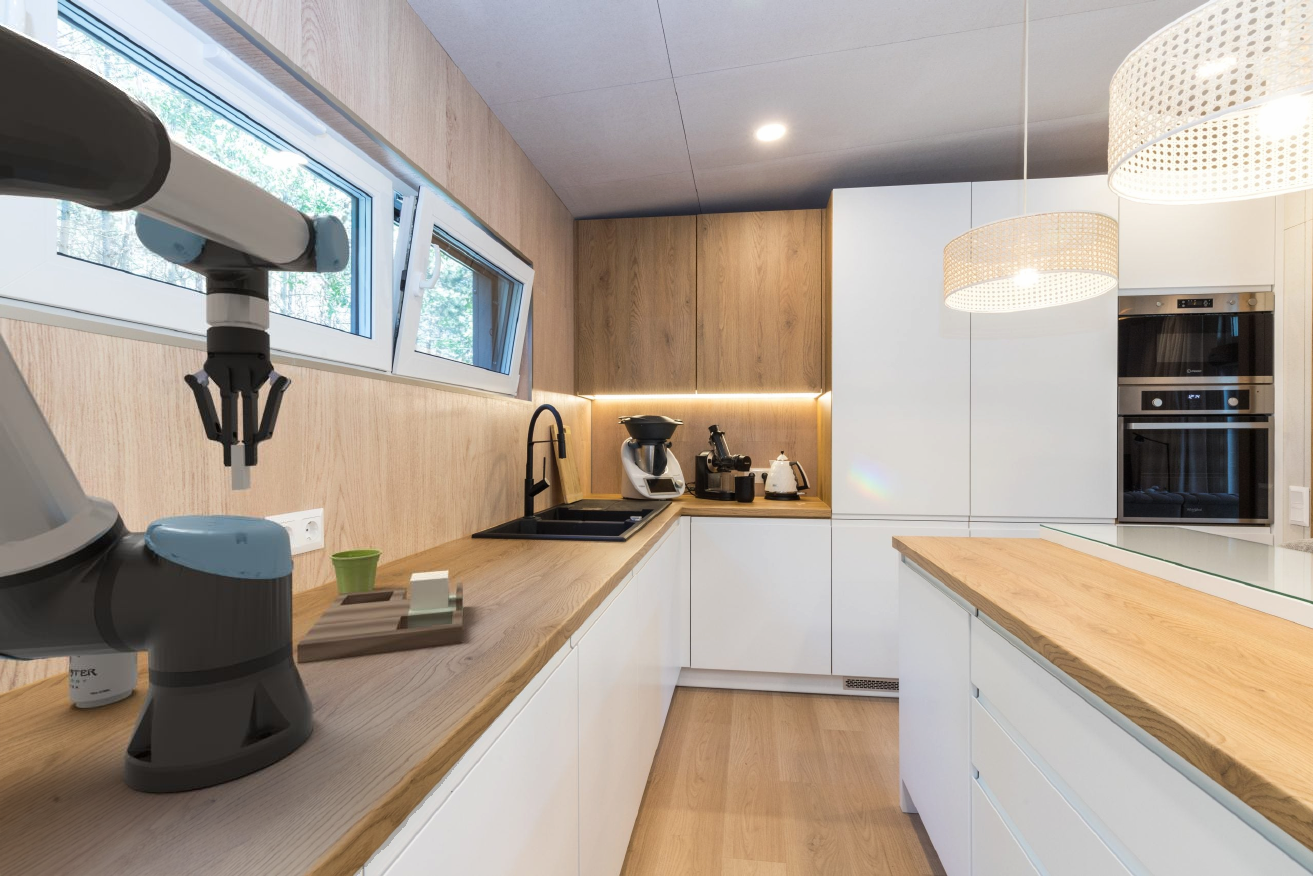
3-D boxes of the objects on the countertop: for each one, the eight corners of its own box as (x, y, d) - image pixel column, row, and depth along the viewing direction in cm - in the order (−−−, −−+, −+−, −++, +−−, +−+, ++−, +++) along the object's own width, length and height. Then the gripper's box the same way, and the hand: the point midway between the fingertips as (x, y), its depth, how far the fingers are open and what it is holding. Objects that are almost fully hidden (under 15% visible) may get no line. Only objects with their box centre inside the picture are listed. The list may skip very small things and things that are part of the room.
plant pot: (374, 587, 122) (373, 547, 122) (388, 595, 115) (388, 552, 115) (325, 596, 116) (324, 553, 116) (337, 605, 109) (336, 560, 109)
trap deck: (462, 642, 87) (461, 613, 87) (297, 662, 80) (297, 630, 80) (463, 594, 115) (463, 572, 115) (340, 606, 108) (340, 582, 108)
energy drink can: (59, 705, 68) (57, 580, 68) (122, 684, 74) (121, 569, 74) (84, 714, 66) (82, 584, 66) (148, 692, 71) (146, 572, 71)
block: (448, 606, 98) (447, 577, 98) (410, 610, 96) (409, 581, 96) (449, 597, 103) (448, 570, 103) (413, 601, 101) (412, 573, 101)
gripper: (296, 335, 90) (299, 485, 89) (197, 331, 85) (199, 489, 85) (282, 326, 82) (284, 489, 82) (172, 321, 78) (175, 493, 78)
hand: (241, 488), depth 84 cm, fingers closed
